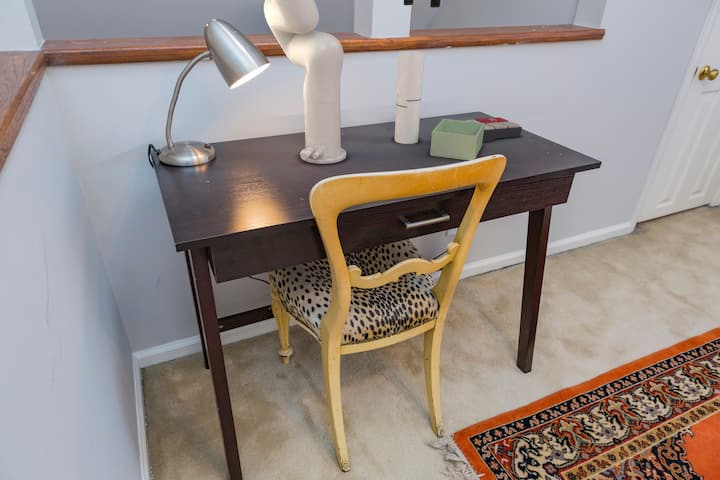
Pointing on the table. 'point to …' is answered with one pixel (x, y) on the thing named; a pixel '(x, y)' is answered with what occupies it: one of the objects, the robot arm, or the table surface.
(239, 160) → the table surface
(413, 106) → the cylindrical container
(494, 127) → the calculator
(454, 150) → the tote
